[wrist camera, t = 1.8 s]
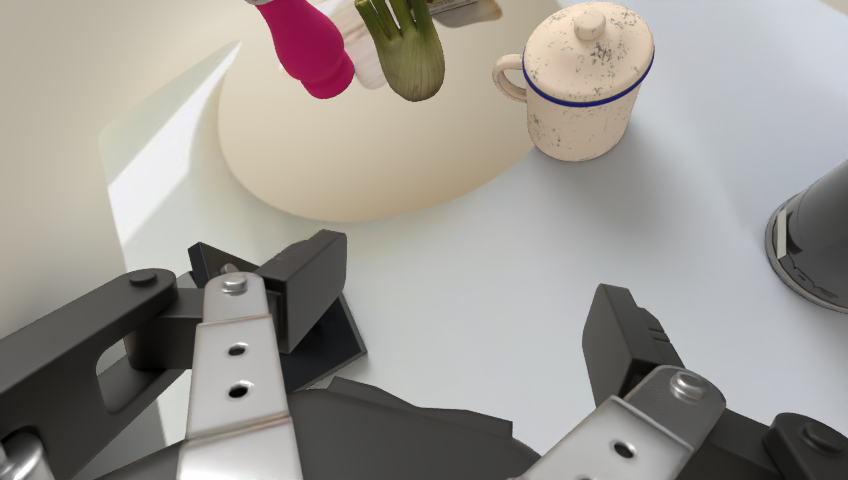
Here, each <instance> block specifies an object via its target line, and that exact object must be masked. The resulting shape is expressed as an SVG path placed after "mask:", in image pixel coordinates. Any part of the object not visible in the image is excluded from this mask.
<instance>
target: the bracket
mask: <svg viewBox="0 0 848 480" xmlns="http://www.w3.org/2000/svg"><path fill="white" fill-rule="evenodd" d="M188 253H189V257H190V261H191V265H192V269H193V273H194V277H195V281H196V285H197V288H202V289H205V286H206V284H207V283H208V282H209V281H210V280H212V279H213V278H215V277H217V276H220V275H223V274H227V273H233V272H249V273H252V272H254V271H255V270H256V269H258V268H259V266H257V265H255V264H252V263H250V262H247V261H245V260H243V259H240V258H238V257H235V256H233V255H231V254H228V253H226V252H223V251H221V250H219V249H216V248H214V247H211V246H209V245H207V244H204V243H202V242H198V243H196V244H195V245H193V246H192V247H190V248H188ZM366 353H368V352H367V350H366V347H365V345H364V343H363V340H362V338H361V336H360V333H359V331H358V329H357V326H356V324H355V322H354V319H353V317H352V315H351V312H350V310H349V308H348V305H347V303H346V301H345V298H344V296H343V294H342V292H341V293H340V295H339V296H338V297H337V298H336V299H335V301H334V302H333V303H332V304H331V305H330V307H329V308H328V309H327V310H326V311H325V312H324V314H323V315H322V316H321V317H320V318H319V320H318V321H317V322H316V323H315V324H314V325H313V327H312V328H311V329H310V330H309V331H308V333H307V334H306V335H305V336H304V337H303V338H302V340H301V341H300V342H299V343H298V344H297V346H296V347H295V348H294V349H293V350H292V351H291V353H290V354H285V353H281V352H279V358H280V364H281V370H282V375H283V381H284V387H285V392H286V394H289V393H293V392H297V391H302V390H305V389H307V388H308V387H310V386H312V385H313V384H315V383H317V382H318V381H320V380H322V379H324V378H325V377H327V376H329V375H330V374H332V373H334V372H336V371H337V370H339V369H341V368H342V367H344V366H346V365H347V364H349V363H351V362H353V361H354V360H356V359H358V358H359V357H361V356H363V355H365V354H366Z"/></svg>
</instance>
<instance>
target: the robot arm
mask: <svg viewBox="0 0 848 480" xmlns="http://www.w3.org/2000/svg"><path fill="white" fill-rule="evenodd" d="M765 247H766V251H767V255H768V258H769V260H770V262H771V264H772V266H773V268H774V269H775V271H776V272H777V274H778V275H779V276H780V278H781V279H782V280H783V281H784V282H785V283H786V284H787V285H788V286H789V287H790V288H792V289H793V290H794V291H795V292H797V293H798V294H800V295H801V296H803V297H804V298H806V299H808V300H809V301H811V302H813V303H815V304H817V305H820V306H822V307H825V308H827V309H831V310H834V311H838V312H842V313H847V314H848V160H846V161H845V162H843V163H842V164H841V165H839V166H838V167H836V168H835V169H834V170H832V171H831V172H829V173H828V174H827V175H825V176H824V177H822V178H821V179H819V180H818V181H816V182H815V183H814V184H812V185H811V186H809V187H808V188H807V189H805V190H804V191H802V192H801V193H799V194H797V195H795V196H793V197H792V198H790V199H789V200H787V201H786V202H785V203H783V204H782V205H781V206H780V207H779V208H778V209H777V210H776V211H775V212H774V213H773V215H772V216H771V218H770V220H769V222H768V224H767V228H766V232H765ZM346 259H347V237H346V234H345V233H340V232H335V231H330V230H325V229H322V230H321V231H319V232H318V233H317V234H315V235H314V236H313V237H311V238H310V239H309V240H304V241H301V242H298V243H295V244H292V245H290V246H289V247H287V248H286V249H284V250H283V251H282V252H281V253H279V254H277V255H276V256H275V257H274V259H270V260H269V261H268V262H266V263H265V264H263V265H262V266H261V267H259V268H258V269H256V270H255V271H254V272H252V273H249V272H233V273H227V274H223V275H220V276H217V277H215V278H213V279H212V280H210V281H209V282H208V283H207V284H206V286H205V289H202V288H177V281H176V276H175V274H174V273H173V272H172V271H169V270H166V269H158V268H150V269H142V270H136V271H132V272H129V273H126V274H123V275H121V276H119V277H117V278H115V279H113V280H112V281H110V282H108V283H106V284H104V285H102V286H100V287H99V288H97V289H95V290H93V291H91V292H89V293H87V294H85V295H83V296H82V297H80V298H78V299H76V300H74V301H72V302H70V303H68V304H67V305H65V306H63V307H61V308H59V309H57V310H55V311H53V312H51V313H50V314H48V315H46V316H44V317H42V318H40V319H38V320H36V321H35V322H33V323H31V324H29V325H27V326H25V327H23V328H21V329H19V330H18V331H16V332H14V333H12V334H10V335H8V336H6V337H4V338H3V339H1V340H0V480H71V479H72V478H73V477H74V476H75V475H76V474H77V473H78V472H79V471H80V470H81V469H82V468H83V467H84V466H86V465H87V464H88V463H89V462H90V461H91V460H92V459H93V458H94V457H95V456H96V455H97V454H98V453H99V452H100V451H101V450H102V449H103V448H104V447H106V446H107V445H108V444H109V442H111V441H112V440H113V439H114V438H115V437H116V436H117V435H118V434H119V433H120V432H121V431H122V430H123V429H124V428H125V427H127V425H129V424H130V423H131V422H132V421H133V420H134V419H135V418H136V417H137V416H138V415H139V414H140V413H141V412H142V411H143V410H144V409H146V408H147V407H148V406H149V404H151V403H152V402H153V401H154V400H155V399H156V398H157V397H158V396H159V395H160V394H161V393H162V392H163V391H164V390H166V389H167V388H168V387H169V386H170V385H171V384H172V383H173V382H174V381H175V380H176V379H177V378H178V377H179V376H180V375H181V374H182V373H183V372H184V371H185V370H186V369H192V376H191V386H190V396H189V406H188V415H187V425H186V435H185V439H184V440H181V441H179V442H177V443H175V444H172V445H170V446H168V447H166V448H163V449H161V450H159V451H157V452H155V453H152V454H150V455H148V456H146V457H143V458H141V459H139V460H137V461H134V462H132V463H130V464H128V465H125V466H123V467H121V468H119V469H117V470H114V471H112V472H110V473H108V474H105V475H103V476H101V477H99V478H96V479H94V480H848V438H847V437H845V436H844V435H842V434H841V433H839V432H838V431H836V430H834V429H833V428H831V427H829V426H827V425H825V424H823V423H821V422H819V421H817V420H815V419H812V418H810V417H807V416H804V415H800V414H796V413H780V414H778V415H777V416H776V417H775V419H774V421H773V422H772V424H771V425H770V427H769V426H767V425H764V424H762V423H759V422H757V421H755V420H752V419H750V418H747V417H745V416H743V415H740V414H738V413H736V412H733V411H731V410H729V409H727V408H725V407H726V400H725V398H724V396H723V394H722V393H721V392H720V390H719V389H718V388H717V387H716V386H715V385H713V384H712V383H711V382H710V381H708V380H707V379H705V378H704V377H702V376H700V375H698V374H696V373H694V372H692V371H690V370H687V369H686V368H685V366H684V365H683V363H682V361H681V359H680V358H679V356H678V354H677V352H676V351H675V349H674V347H673V345H672V344H671V343H670V340H669V338H668V337H667V335H666V334H665V333H664V332H665V331H664V330H663V328H662V326H661V324H660V323H659V321H658V319H656V318H655V317H654V316H653V315H652V314H651V313H649V312H648V311H647V310H646V309H645V308H640V307H637V305H636V303H635V301H634V299H633V297H632V295H631V293H630V291H629V290H628V289H627V288H622V287H617V286H612V285H607V284H599V286H598V287H597V290H596V292H595V295H594V299H593V302H592V305H591V308H590V311H589V314H588V317H587V320H586V323H585V327H584V330H583V337H582V348H583V352H584V357H585V361H586V365H587V370H588V374H589V379H590V383H591V387H592V392H593V396H594V400H595V405H596V409H595V410H594V411H593V412H592V413H591V414H589V415H588V416H587V417H586V418H585V419H584V420H583V421H582V422H580V423H579V424H578V425H577V426H576V427H575V428H574V429H573V430H572V431H570V432H569V433H568V434H567V435H566V436H565V437H564V438H563V439H562V440H560V441H559V442H558V443H557V444H556V445H555V446H554V447H553V448H552V449H550V450H549V451H548V452H547V453H546V454H545V455H544V456H543V457H542V456H540V455H539V454H538V453H537V452H535V451H534V450H533V449H531V448H530V447H529V446H527V445H525V444H524V443H522V442H520V441H519V440H517V439H515V438H513V437H512V429H513V422H512V421H508V420H504V419H500V418H496V417H492V416H488V415H484V414H481V413H477V412H473V411H469V410H459V409H439V408H421V407H416V406H414V405H412V404H410V403H408V402H406V401H404V400H402V399H400V398H398V397H396V396H394V395H392V394H390V393H388V392H386V391H384V390H382V389H380V388H378V387H375V386H372V385H368V384H364V383H360V382H356V381H352V380H348V379H344V378H340V377H336V376H335V377H334V378H333V380H332V382H331V383H330V385H329V386H328V388H327V389H309V390H302V391H297V392H293V393H289V394H286V392H285V387H284V381H283V375H282V370H281V364H280V358H279V352H281V353H285V354H290V353H291V351H292V350H293V349H294V348H295V347H296V346H297V344H298V343H299V342H300V341H301V340H302V338H303V337H304V336H305V335H306V334H307V333H308V331H309V330H310V329H311V328H312V327H313V325H314V324H315V323H316V322H317V321H318V320H319V318H320V317H321V316H322V315H323V314H324V312H325V311H326V310H327V309H328V308H329V307H330V305H331V304H332V303H333V302H334V301H335V299H336V298H337V297H338V296H339V295H340V293H341V292H342V290H343V287H344V284H345V279H346ZM122 338H123V341H124V344H125V349H126V353H127V354H126V355H125V356H124V357H122V358H121V359H120V360H118V361H117V362H116V363H114V364H113V365H112V366H110V367H109V368H108V369H106V370H105V371H104V372H103V373H101V374H100V375H98V376H97V375H96V365H97V362H98V360H99V358H100V356H101V355H102V354H103V352H104V351H105V350H107V349H108V348H109V347H111V346H112V345H113V344H115V343H116V342H118V341H119V340H121V339H122Z"/></svg>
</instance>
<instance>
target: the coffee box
mask: <svg viewBox="0 0 848 480" xmlns="http://www.w3.org/2000/svg"><path fill="white" fill-rule="evenodd" d="M476 1H478V0H427V4H428V8H429V12H430V15H432V14H435V13H439V12H442V11H445V10H449V9H452V8H456V7H459V6H462V5H466V4H469V3H473V2H476ZM406 2H407V5H408V7H409V10H410V12H411V14H412V17H413V19H414V20H415V15H414V11H413V7H412V2H411V0H406Z"/></svg>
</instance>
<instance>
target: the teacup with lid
mask: <svg viewBox="0 0 848 480" xmlns="http://www.w3.org/2000/svg"><path fill="white" fill-rule="evenodd" d="M654 52H655V50H654V41H653V36H652V33H651V31H650V29H649V27H648V26H647V24H646V23H645V21H644V20H643V19H642V18H641V17H640V16H639V15H637V14H636V13H635V12H633V11H631V10H630V9H628V8H625V7H623V6H620V5H617V4H613V3H606V2H588V3H581V4H577V5H573V6H570V7H567V8H565V9H562V10H560V11H558V12H556V13H554V14H553V15H551V16H550V17H548V18H547V19H546V20H545V21H543V22H542V23H541V24H540V25H539V26H538V27H537V28H536V29H535V31H534V32H533V33H532V35H531V37H530V38H529V40H528V42H527V44H526V47H525V50H524V53H523V55H521V54H509V55H505V56H503V57H501V58H500V59H498V61H497V62H496V63H495V65H494V68H493V72H492V76H493V80H494V83H495V85H496V86H497V88H498V89H499V90H500V91H501V92H502V93H503V94H504V95H505V96H507V97H508V98H510V99H513V100H515V101H519V102H524V103H527V116H528V117H527V118H528V130H529V134H530V136H531V139H532V141H533V142H534V144H535V145H536V146H537V147H538V148H539V149H540V150H541V151H542V152H544V153H545V154H547V155H549V156H551V157H553V158H556V159H559V160H564V161H584V160H589V159H593V158H595V157H598V156H600V155H602V154H604V153H606V152H607V151H609V150H610V149H611V148H613V147H614V146H615V145H616V144H617V143H618V141H619V140H620V139H621V137H622V136H623V134H624V132H625V129H626V126H627V123H628V121H629V118H630V115H631V112H632V109H633V106H634V103H635V100H636V98H637V95H638V92H639V89H640V86H641V83H642V81H643V79H644V78H645V77H646V75H647V74H648V72H649V70H650V68H651V66H652V63H653V59H654ZM505 69H518V70H523V73H524V76H525V79H526V89H523V88H520V87H517V86H515V85H513V84H512V83H511V82H510V81H508V79H507V78H506V77H505V75H504V73H503V70H505Z"/></svg>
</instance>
